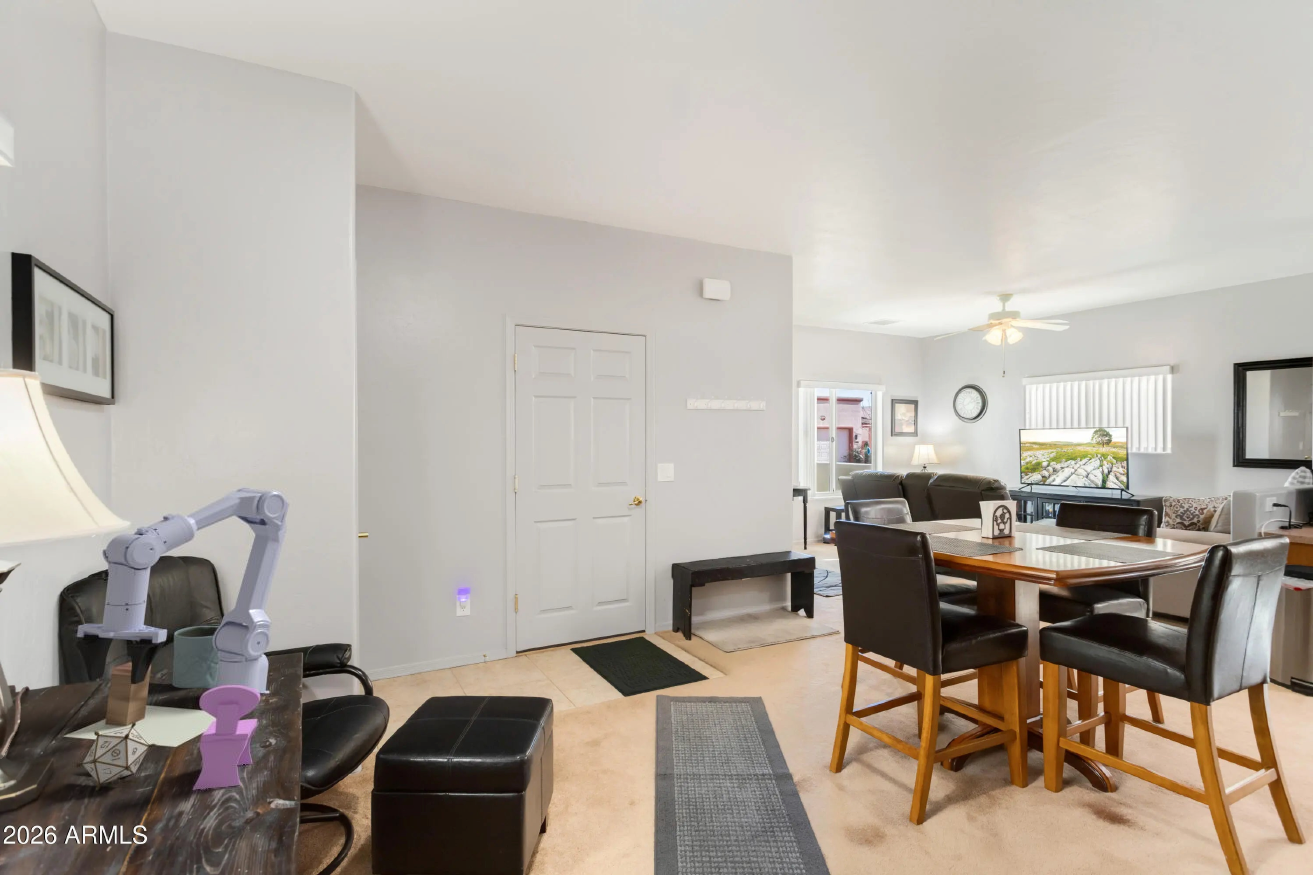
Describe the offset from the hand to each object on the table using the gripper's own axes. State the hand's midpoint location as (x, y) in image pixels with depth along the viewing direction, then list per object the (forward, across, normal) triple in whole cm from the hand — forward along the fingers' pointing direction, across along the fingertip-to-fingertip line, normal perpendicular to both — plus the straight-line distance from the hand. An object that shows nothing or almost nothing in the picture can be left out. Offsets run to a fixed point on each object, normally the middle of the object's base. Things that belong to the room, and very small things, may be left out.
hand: (116, 680), depth 115 cm
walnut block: (+9, -2, +6) cm, 11 cm away
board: (+10, +4, +6) cm, 12 cm away
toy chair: (+10, +27, -9) cm, 30 cm away
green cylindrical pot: (+10, -6, +29) cm, 31 cm away
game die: (+10, +13, -14) cm, 21 cm away
